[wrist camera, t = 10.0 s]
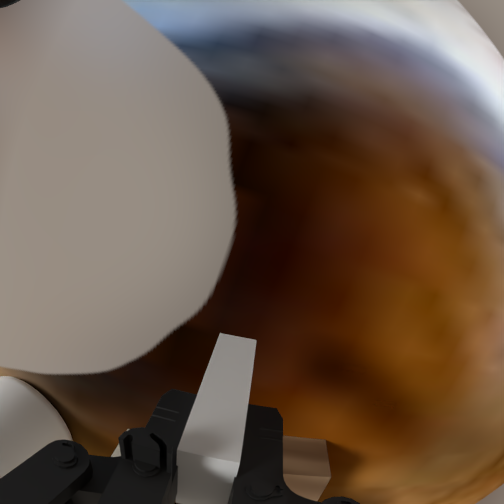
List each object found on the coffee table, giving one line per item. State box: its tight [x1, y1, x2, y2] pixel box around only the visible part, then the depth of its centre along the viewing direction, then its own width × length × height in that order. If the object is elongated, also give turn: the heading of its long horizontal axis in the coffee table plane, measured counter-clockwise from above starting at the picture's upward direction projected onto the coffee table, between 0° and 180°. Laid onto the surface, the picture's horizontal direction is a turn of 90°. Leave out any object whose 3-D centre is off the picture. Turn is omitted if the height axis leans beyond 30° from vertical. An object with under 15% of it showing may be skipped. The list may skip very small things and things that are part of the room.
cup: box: [0, 376, 73, 478], centre depth 16 cm, size 10×10×10 cm
